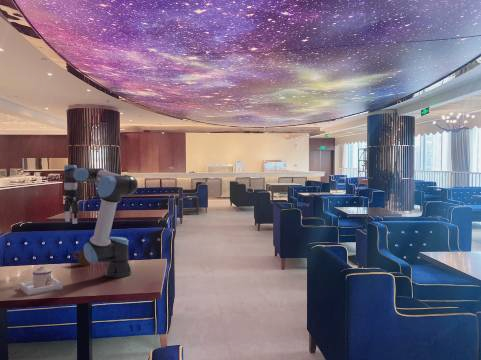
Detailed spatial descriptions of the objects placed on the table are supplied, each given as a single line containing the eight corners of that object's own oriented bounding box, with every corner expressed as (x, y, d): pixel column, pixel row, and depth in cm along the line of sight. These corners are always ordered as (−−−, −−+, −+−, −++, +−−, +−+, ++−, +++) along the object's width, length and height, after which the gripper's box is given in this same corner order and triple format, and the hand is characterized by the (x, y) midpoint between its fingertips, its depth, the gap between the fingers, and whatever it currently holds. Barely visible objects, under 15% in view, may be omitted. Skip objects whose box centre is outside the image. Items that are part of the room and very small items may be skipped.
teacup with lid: (49, 289, 213) (49, 267, 212) (30, 290, 211) (30, 268, 210) (54, 283, 224) (54, 262, 224) (36, 284, 222) (36, 263, 222)
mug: (70, 266, 267) (70, 252, 267) (74, 263, 274) (74, 249, 274) (88, 266, 268) (88, 252, 267) (92, 263, 275) (92, 249, 275)
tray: (62, 289, 216) (62, 283, 216) (28, 295, 205) (28, 290, 205) (53, 282, 229) (53, 277, 229) (20, 288, 218) (20, 282, 218)
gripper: (83, 190, 248) (84, 224, 249) (70, 188, 267) (70, 220, 268) (71, 190, 243) (71, 225, 244) (58, 188, 262) (58, 220, 263)
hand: (71, 222), depth 256 cm, fingers open, 13 cm apart
